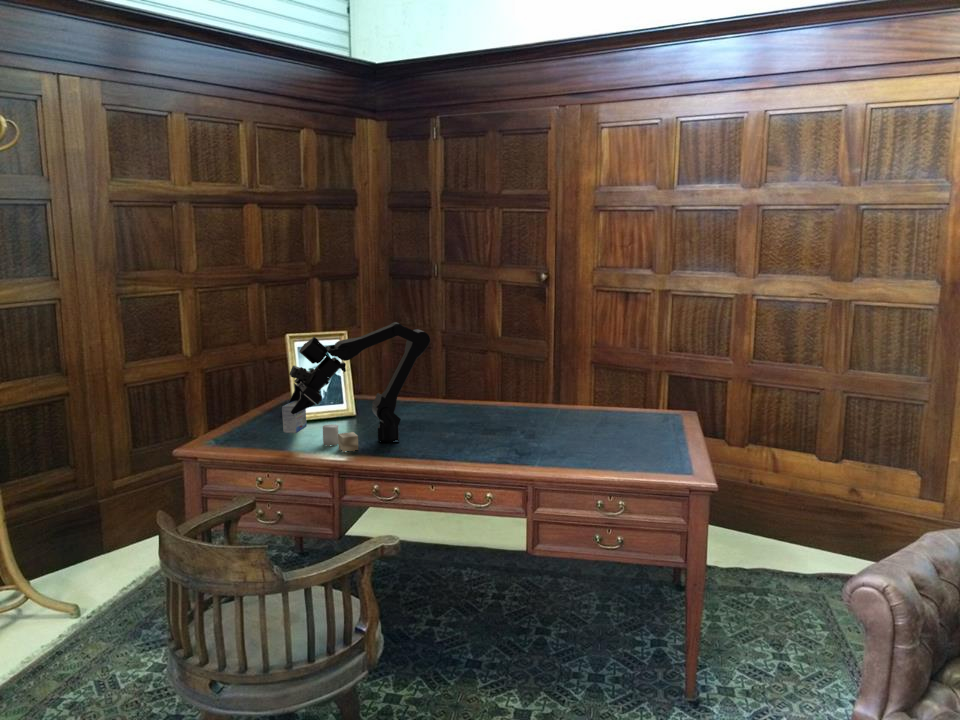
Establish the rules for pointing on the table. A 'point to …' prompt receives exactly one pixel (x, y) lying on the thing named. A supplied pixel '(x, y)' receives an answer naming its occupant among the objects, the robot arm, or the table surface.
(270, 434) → the table surface
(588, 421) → the table surface
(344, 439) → the beech cube
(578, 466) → the table surface
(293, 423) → the medicine box
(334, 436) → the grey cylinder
